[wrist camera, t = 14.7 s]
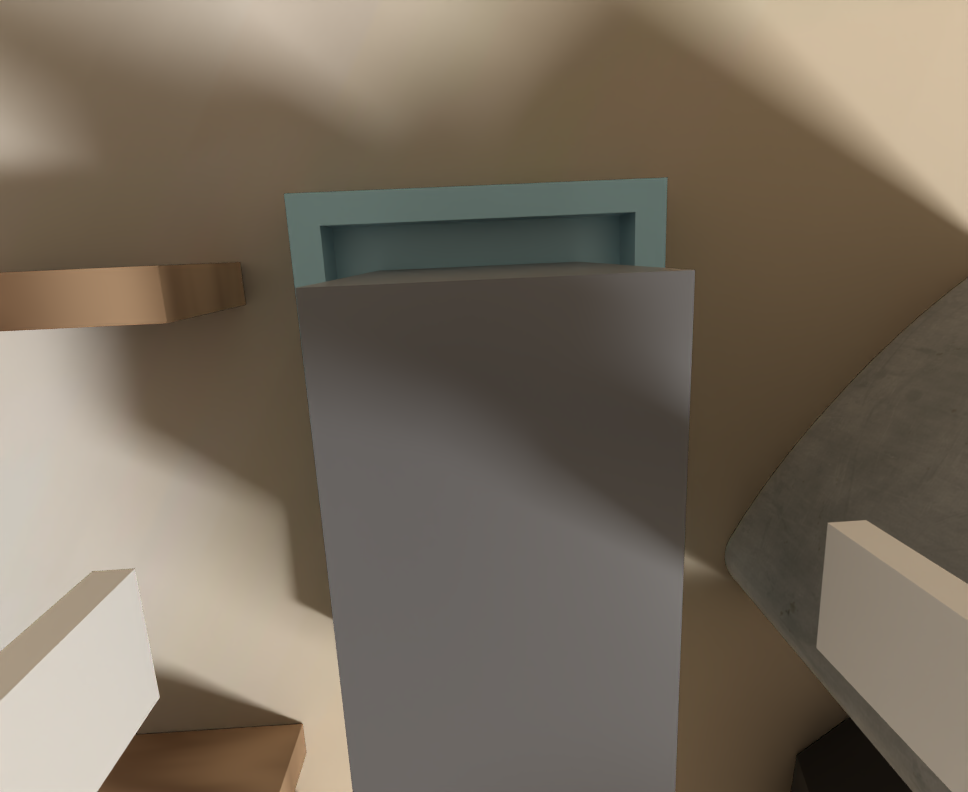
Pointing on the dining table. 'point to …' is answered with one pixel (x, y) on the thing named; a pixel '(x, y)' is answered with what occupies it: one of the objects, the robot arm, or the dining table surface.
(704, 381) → the dining table surface
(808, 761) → the bottle
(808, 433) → the hip flask
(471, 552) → the grey rectangular block
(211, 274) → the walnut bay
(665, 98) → the dining table surface
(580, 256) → the teal tray
